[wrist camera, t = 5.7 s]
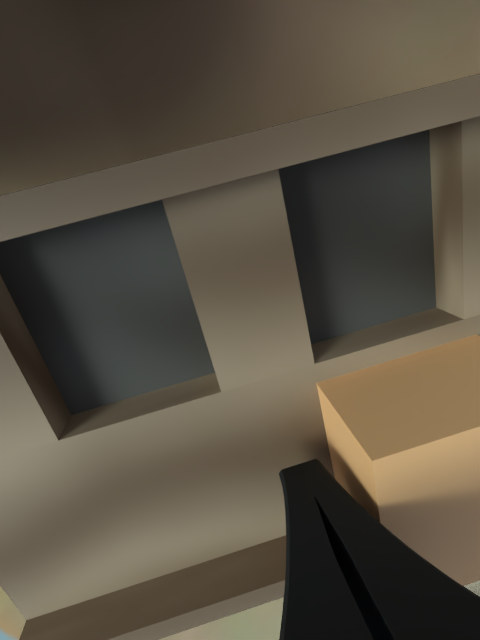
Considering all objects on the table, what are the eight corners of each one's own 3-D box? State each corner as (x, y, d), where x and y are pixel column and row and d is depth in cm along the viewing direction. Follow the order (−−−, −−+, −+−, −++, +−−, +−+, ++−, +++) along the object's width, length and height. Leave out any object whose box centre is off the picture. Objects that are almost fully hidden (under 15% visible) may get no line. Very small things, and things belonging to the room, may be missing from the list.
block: (476, 462, 13) (570, 548, 10) (340, 507, 13) (392, 610, 10) (476, 334, 11) (593, 389, 8) (316, 383, 11) (372, 460, 8)
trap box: (502, 443, 15) (573, 498, 13) (50, 590, 14) (18, 686, 11) (517, 76, 10) (640, 32, 8) (-179, 255, 9) (-337, 281, 6)
